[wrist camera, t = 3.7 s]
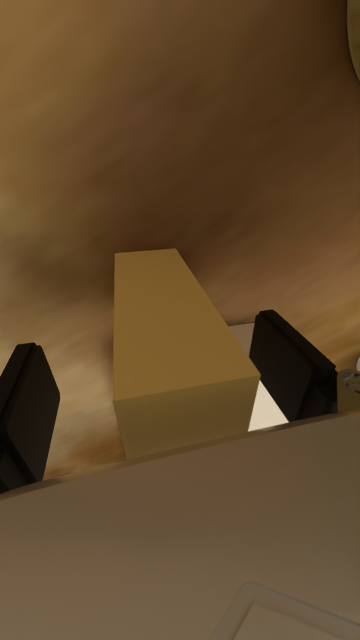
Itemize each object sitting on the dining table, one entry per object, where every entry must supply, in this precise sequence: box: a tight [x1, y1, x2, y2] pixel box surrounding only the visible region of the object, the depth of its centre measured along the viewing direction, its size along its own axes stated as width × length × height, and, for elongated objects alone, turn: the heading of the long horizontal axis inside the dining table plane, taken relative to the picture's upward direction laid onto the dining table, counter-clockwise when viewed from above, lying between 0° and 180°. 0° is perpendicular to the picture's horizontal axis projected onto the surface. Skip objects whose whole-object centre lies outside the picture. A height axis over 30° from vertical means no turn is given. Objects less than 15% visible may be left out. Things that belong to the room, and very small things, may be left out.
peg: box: [113, 248, 261, 460], centre depth 13 cm, size 4×4×12 cm
